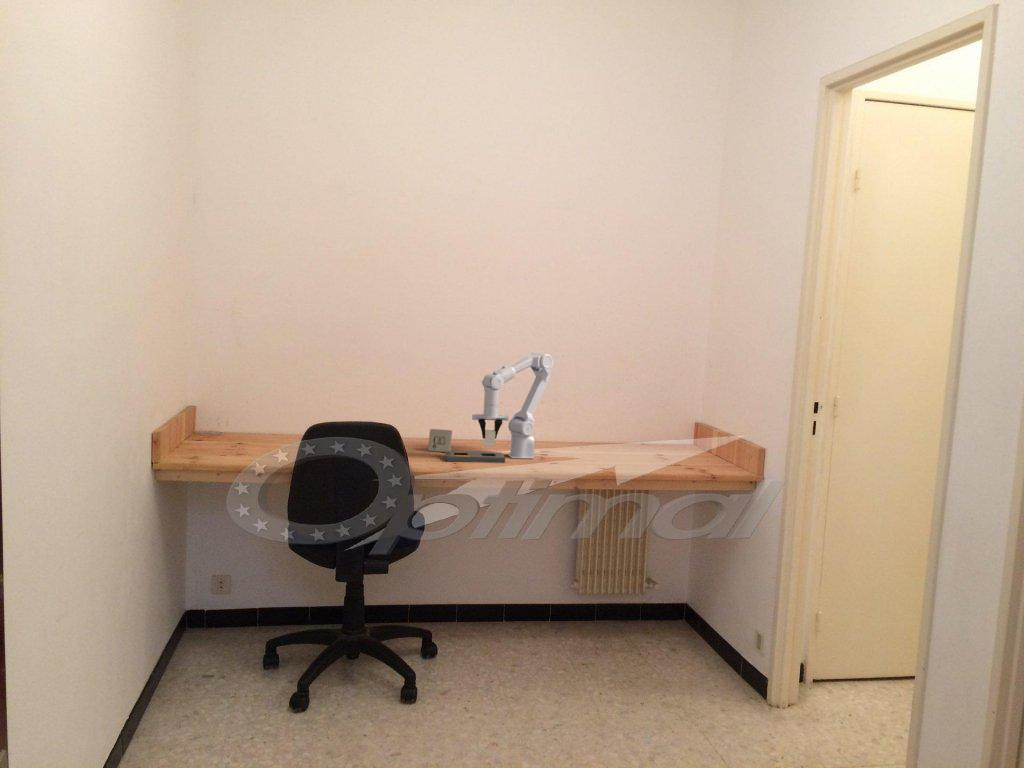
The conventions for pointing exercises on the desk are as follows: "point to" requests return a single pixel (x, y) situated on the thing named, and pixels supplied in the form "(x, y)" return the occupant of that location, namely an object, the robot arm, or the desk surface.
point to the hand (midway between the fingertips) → (489, 438)
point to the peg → (489, 438)
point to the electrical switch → (440, 440)
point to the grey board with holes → (474, 457)
